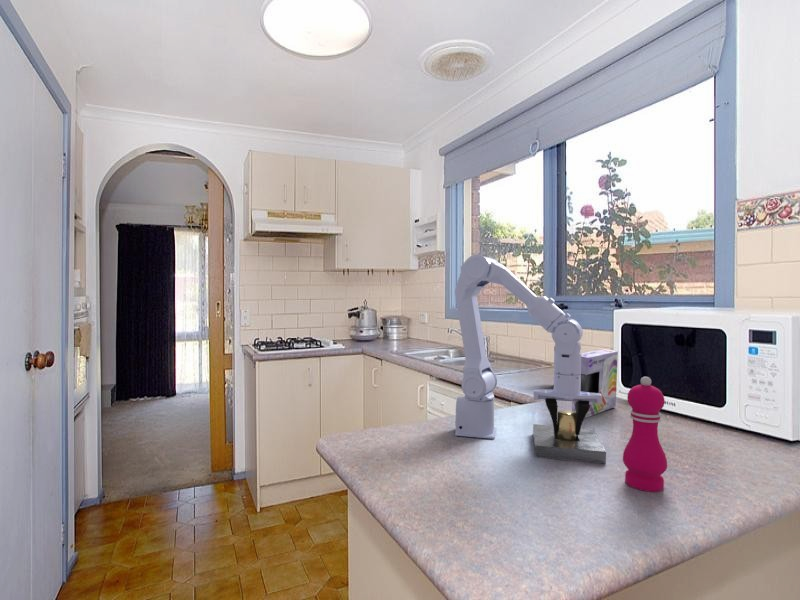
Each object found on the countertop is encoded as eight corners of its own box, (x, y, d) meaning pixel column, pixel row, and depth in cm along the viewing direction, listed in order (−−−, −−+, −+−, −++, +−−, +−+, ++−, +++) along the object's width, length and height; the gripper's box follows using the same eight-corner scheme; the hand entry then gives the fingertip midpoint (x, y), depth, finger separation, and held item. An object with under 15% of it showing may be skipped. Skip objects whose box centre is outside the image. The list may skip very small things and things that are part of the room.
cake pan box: (585, 419, 126) (586, 355, 126) (568, 415, 130) (569, 353, 130) (618, 408, 138) (619, 350, 138) (602, 405, 142) (602, 348, 142)
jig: (535, 456, 97) (535, 445, 97) (533, 434, 113) (533, 424, 113) (605, 463, 94) (606, 451, 94) (593, 439, 109) (593, 428, 109)
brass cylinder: (556, 445, 102) (556, 414, 102) (557, 439, 106) (558, 409, 105) (575, 448, 100) (576, 416, 100) (576, 441, 104) (577, 411, 104)
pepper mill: (662, 479, 86) (664, 374, 86) (671, 495, 79) (673, 381, 79) (619, 474, 88) (621, 372, 88) (625, 489, 82) (627, 378, 81)
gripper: (534, 374, 101) (533, 435, 101) (605, 378, 97) (604, 441, 98) (533, 369, 108) (532, 426, 108) (599, 372, 104) (598, 431, 104)
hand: (566, 432), depth 103 cm, fingers closed on brass cylinder, 4 cm apart
